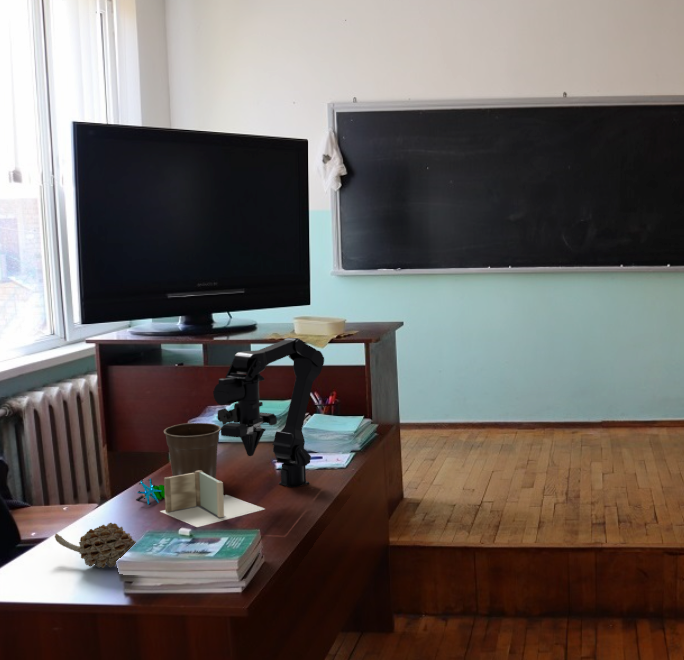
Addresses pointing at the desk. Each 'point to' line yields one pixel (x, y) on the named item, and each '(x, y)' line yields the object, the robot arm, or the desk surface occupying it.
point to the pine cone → (101, 545)
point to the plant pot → (193, 448)
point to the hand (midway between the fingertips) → (250, 455)
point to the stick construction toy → (156, 491)
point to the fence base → (182, 491)
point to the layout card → (204, 517)
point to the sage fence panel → (211, 494)
